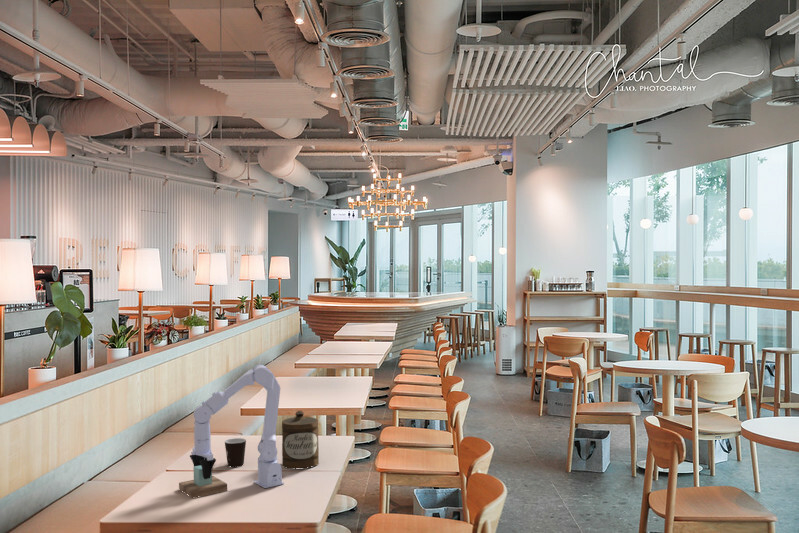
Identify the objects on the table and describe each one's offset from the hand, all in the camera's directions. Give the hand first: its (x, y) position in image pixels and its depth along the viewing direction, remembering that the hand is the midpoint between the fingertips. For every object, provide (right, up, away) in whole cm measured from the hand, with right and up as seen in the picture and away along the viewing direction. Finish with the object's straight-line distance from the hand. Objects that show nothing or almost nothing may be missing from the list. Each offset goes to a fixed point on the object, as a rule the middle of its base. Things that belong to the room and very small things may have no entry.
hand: (202, 476), depth 247 cm
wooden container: (+31, -5, +32) cm, 45 cm away
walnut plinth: (0, -5, 0) cm, 5 cm away
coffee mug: (+4, -6, +34) cm, 34 cm away
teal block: (0, -3, 0) cm, 3 cm away
